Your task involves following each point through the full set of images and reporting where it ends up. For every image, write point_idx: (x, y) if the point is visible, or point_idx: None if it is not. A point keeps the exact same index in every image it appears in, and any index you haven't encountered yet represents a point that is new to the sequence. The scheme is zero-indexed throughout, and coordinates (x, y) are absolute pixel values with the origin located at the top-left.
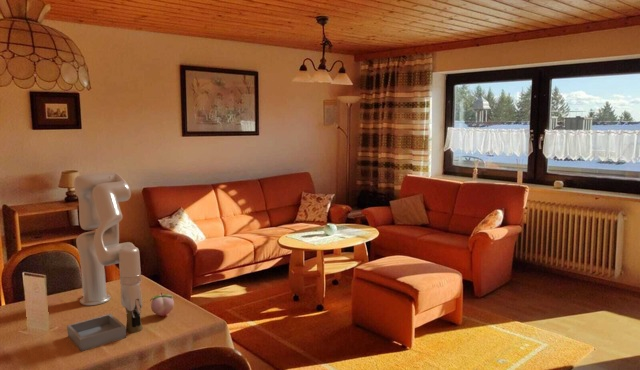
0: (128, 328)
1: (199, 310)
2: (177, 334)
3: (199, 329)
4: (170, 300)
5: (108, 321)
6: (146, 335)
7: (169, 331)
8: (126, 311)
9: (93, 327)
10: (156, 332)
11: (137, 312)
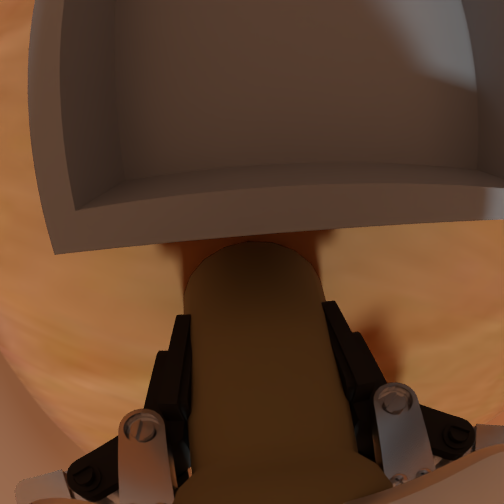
0: (222, 274)
1: None
2: (64, 419)
3: None
4: None
5: (491, 169)
6: (92, 336)
7: (105, 419)
8: (405, 398)
9: (473, 41)
10: (116, 386)
11: (38, 488)
